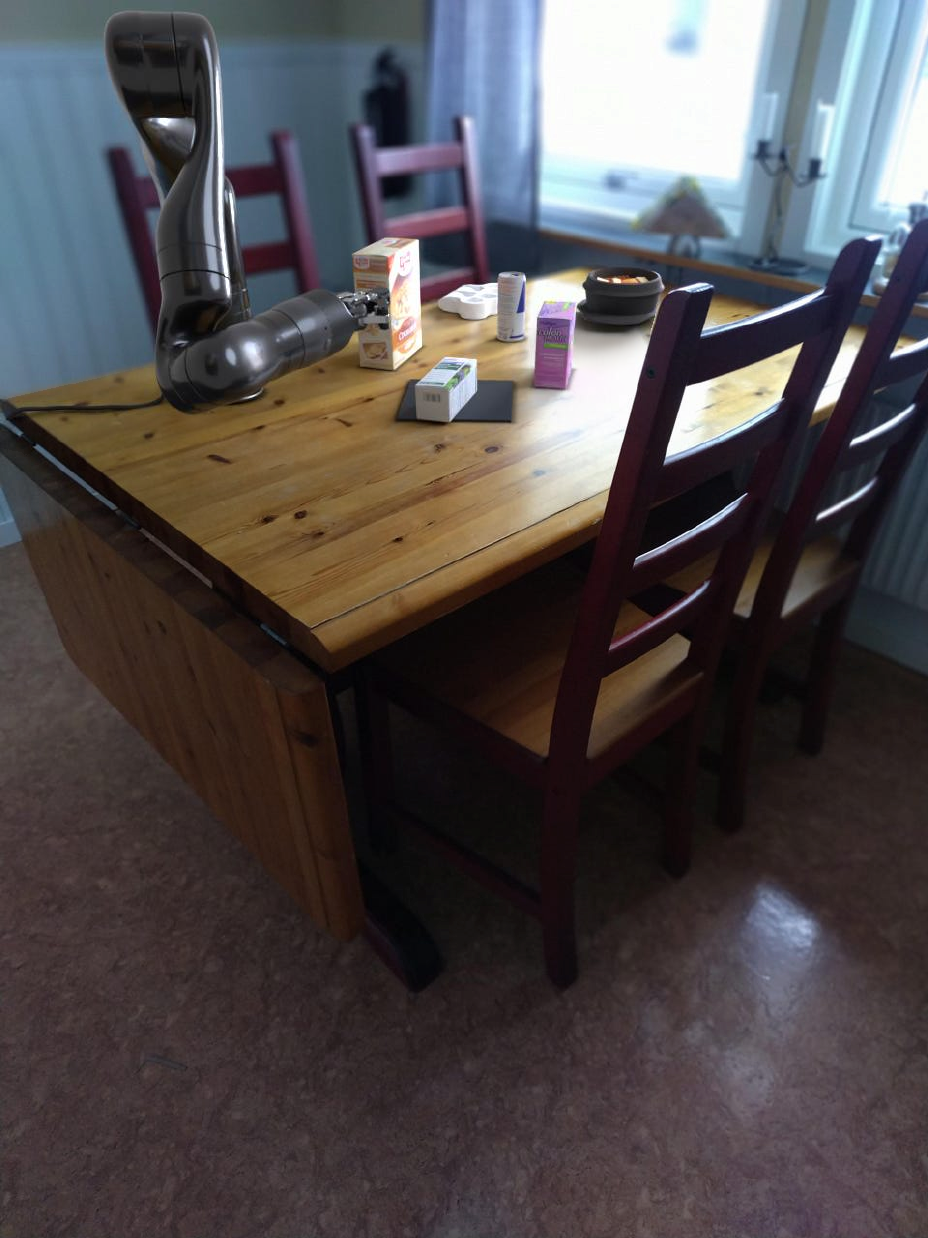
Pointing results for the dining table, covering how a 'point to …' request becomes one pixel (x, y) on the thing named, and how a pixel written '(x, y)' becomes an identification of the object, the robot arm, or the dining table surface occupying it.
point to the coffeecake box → (399, 272)
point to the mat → (470, 403)
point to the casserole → (621, 295)
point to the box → (554, 344)
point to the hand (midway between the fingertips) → (385, 295)
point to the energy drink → (511, 306)
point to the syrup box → (446, 389)
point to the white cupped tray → (472, 301)
